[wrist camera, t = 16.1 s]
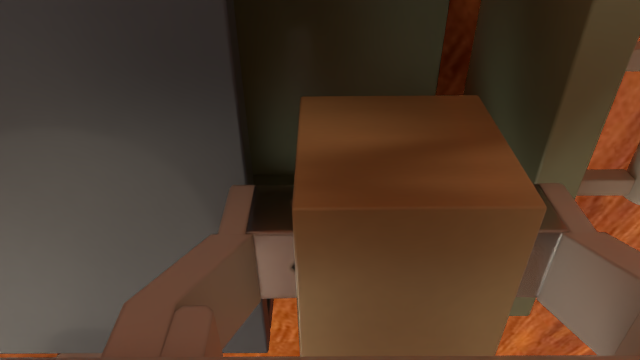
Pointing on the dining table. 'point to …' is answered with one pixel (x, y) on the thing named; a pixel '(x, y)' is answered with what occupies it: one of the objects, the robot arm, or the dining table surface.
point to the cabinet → (112, 160)
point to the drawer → (423, 69)
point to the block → (407, 226)
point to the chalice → (80, 355)
